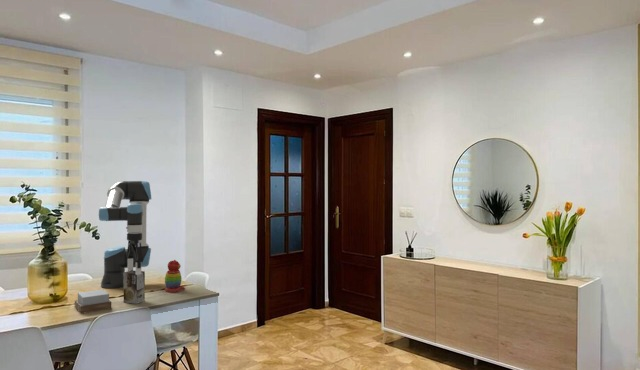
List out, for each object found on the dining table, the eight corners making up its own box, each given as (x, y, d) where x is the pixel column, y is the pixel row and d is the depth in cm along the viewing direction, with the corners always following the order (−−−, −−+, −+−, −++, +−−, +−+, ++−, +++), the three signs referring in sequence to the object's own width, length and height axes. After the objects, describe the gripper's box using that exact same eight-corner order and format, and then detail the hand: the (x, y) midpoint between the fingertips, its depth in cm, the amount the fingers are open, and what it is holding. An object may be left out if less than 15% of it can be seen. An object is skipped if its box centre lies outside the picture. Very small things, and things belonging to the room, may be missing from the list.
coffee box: (145, 301, 241) (145, 271, 241) (136, 304, 235) (136, 273, 234) (131, 299, 244) (131, 269, 244) (122, 302, 238) (123, 272, 237)
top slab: (77, 300, 228) (77, 292, 228) (103, 296, 235) (103, 289, 235) (82, 305, 218) (82, 297, 218) (109, 301, 226) (109, 293, 226)
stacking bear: (176, 293, 258) (177, 262, 258) (160, 292, 260) (161, 261, 260) (186, 288, 268) (186, 259, 268) (170, 287, 270) (170, 258, 270)
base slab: (74, 308, 228) (74, 300, 228) (104, 303, 237) (104, 296, 237) (80, 314, 217) (80, 306, 217) (111, 309, 226) (111, 301, 226)
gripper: (120, 231, 246) (120, 269, 246) (134, 235, 227) (134, 276, 227) (134, 230, 251) (134, 268, 251) (149, 234, 232) (149, 275, 231)
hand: (134, 272), depth 239 cm, fingers open, 13 cm apart
